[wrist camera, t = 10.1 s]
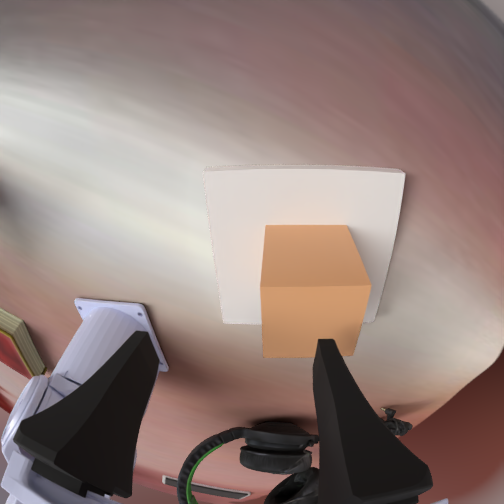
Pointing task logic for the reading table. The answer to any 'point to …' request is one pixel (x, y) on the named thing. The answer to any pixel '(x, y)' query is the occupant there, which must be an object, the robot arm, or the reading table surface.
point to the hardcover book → (18, 347)
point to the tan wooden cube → (311, 290)
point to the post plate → (296, 221)
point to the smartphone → (209, 489)
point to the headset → (272, 458)
